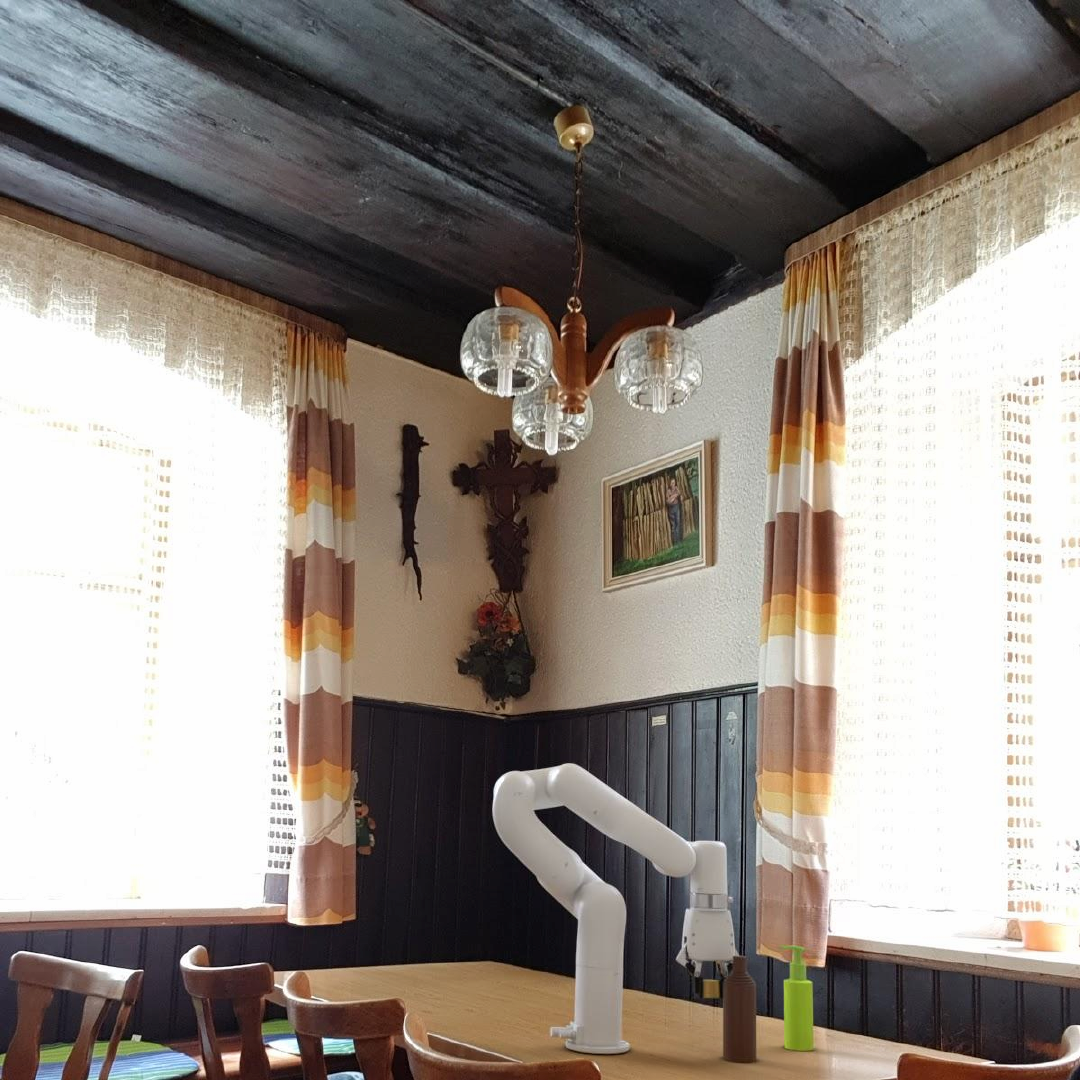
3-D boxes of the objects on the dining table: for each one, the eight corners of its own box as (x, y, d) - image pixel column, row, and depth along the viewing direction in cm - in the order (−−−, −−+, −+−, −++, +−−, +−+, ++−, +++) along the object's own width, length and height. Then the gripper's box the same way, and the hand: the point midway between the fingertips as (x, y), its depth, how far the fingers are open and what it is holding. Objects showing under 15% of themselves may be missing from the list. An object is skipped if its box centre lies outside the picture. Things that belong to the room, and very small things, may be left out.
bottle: (730, 1062, 225) (730, 957, 229) (718, 1056, 231) (718, 954, 235) (761, 1062, 226) (761, 958, 231) (748, 1056, 232) (748, 954, 237)
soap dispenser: (788, 1043, 248) (787, 943, 252) (818, 1048, 243) (816, 946, 248) (774, 1047, 243) (773, 945, 248) (805, 1052, 239) (803, 948, 244)
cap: (710, 995, 240) (710, 979, 241) (723, 997, 237) (723, 980, 238) (696, 996, 238) (695, 980, 238) (709, 998, 235) (708, 981, 235)
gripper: (739, 901, 247) (740, 994, 243) (664, 900, 244) (663, 994, 239) (753, 904, 240) (755, 1000, 236) (676, 903, 236) (676, 1000, 232)
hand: (709, 996), depth 237 cm, fingers closed on cap, 3 cm apart
